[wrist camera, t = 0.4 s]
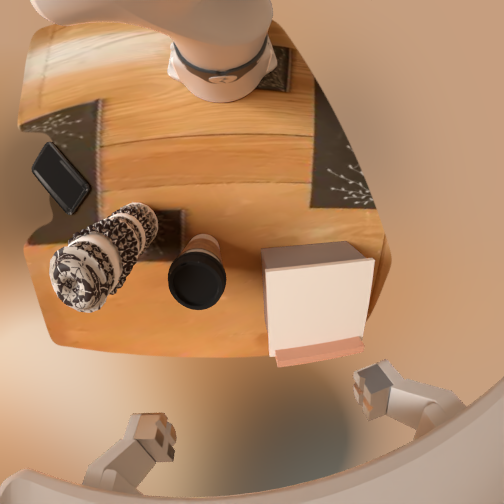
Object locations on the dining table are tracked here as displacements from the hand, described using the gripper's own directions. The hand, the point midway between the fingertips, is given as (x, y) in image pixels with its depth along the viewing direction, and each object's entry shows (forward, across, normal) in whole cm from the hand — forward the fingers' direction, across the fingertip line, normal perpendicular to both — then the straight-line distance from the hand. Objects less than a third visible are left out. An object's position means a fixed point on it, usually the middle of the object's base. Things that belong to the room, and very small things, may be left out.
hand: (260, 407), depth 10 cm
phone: (+40, +31, -20) cm, 54 cm away
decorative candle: (+41, +17, -6) cm, 45 cm away
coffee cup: (+41, +6, +2) cm, 42 cm away
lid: (+32, -11, +15) cm, 37 cm away
